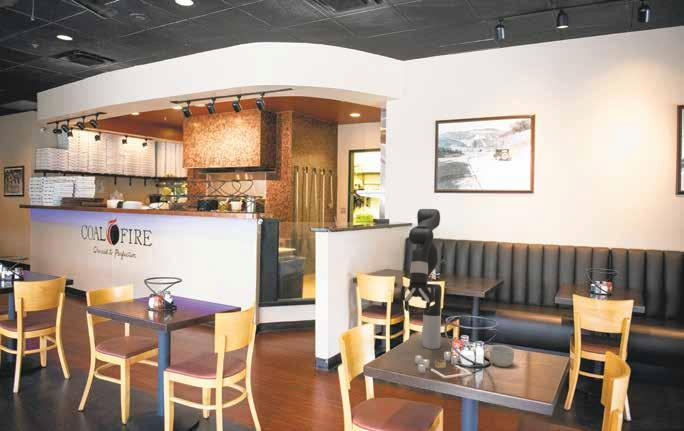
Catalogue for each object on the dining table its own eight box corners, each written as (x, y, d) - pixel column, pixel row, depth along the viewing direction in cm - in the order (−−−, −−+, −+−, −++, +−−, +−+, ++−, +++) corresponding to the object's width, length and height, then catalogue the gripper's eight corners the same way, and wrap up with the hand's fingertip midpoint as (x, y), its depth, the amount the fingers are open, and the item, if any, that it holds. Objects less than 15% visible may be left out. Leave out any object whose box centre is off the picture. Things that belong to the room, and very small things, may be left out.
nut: (432, 366, 225) (432, 361, 225) (437, 364, 229) (437, 358, 229) (443, 369, 222) (443, 363, 222) (448, 366, 225) (448, 361, 225)
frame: (430, 370, 220) (430, 368, 220) (457, 366, 225) (457, 365, 225) (444, 378, 209) (444, 377, 209) (471, 374, 215) (472, 373, 215)
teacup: (510, 361, 233) (511, 345, 232) (516, 369, 222) (517, 352, 222) (481, 360, 234) (481, 344, 234) (485, 368, 223) (485, 351, 223)
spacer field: (404, 364, 227) (404, 356, 227) (455, 358, 237) (455, 350, 237) (420, 374, 214) (420, 366, 214) (473, 367, 224) (473, 358, 224)
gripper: (437, 275, 208) (435, 313, 204) (405, 274, 214) (402, 311, 209) (433, 272, 202) (431, 311, 197) (400, 271, 207) (398, 309, 202)
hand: (416, 311), depth 203 cm, fingers open, 8 cm apart
